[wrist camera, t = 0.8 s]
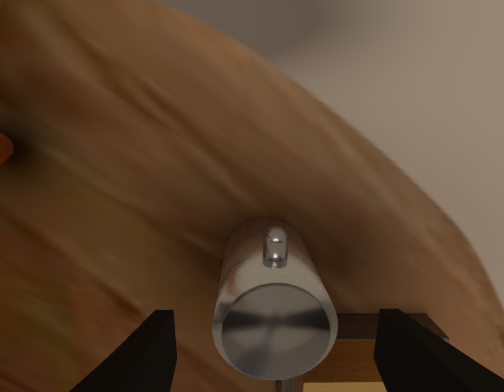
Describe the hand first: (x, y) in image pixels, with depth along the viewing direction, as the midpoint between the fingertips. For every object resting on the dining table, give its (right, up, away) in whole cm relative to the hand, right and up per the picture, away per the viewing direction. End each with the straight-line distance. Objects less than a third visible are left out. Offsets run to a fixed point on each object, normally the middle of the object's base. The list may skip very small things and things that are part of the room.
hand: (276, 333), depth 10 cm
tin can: (0, +1, +6) cm, 6 cm away
